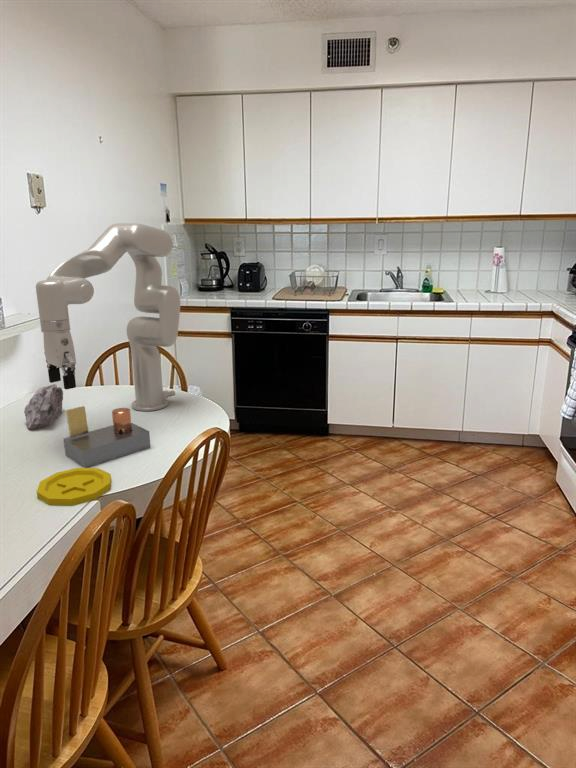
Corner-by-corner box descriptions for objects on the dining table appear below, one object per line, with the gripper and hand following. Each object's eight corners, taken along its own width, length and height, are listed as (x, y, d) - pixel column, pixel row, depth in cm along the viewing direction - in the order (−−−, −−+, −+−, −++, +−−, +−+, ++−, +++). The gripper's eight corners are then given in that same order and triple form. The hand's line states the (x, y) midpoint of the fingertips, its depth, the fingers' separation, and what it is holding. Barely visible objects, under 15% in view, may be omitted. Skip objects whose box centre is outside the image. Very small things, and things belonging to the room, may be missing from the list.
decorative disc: (85, 468, 152) (85, 462, 152) (125, 487, 142) (124, 480, 141) (25, 491, 140) (24, 484, 139) (63, 514, 129) (62, 506, 129)
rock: (43, 439, 178) (58, 396, 175) (11, 428, 176) (25, 385, 173) (62, 416, 200) (75, 378, 197) (33, 406, 198) (46, 367, 194)
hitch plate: (129, 436, 174) (128, 421, 172) (150, 447, 165) (149, 431, 164) (65, 455, 160) (63, 438, 159) (84, 468, 152) (82, 450, 151)
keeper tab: (71, 437, 158) (70, 437, 159) (88, 433, 162) (87, 432, 162) (67, 410, 156) (65, 410, 157) (84, 406, 160) (83, 406, 161)
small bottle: (127, 440, 169) (124, 406, 166) (136, 444, 166) (133, 410, 163) (112, 444, 166) (108, 410, 163) (120, 449, 163) (117, 414, 160)
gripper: (82, 327, 154) (89, 388, 159) (55, 320, 166) (62, 376, 171) (55, 331, 149) (63, 394, 154) (29, 323, 161) (36, 381, 166)
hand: (62, 384), depth 162 cm, fingers open, 9 cm apart
